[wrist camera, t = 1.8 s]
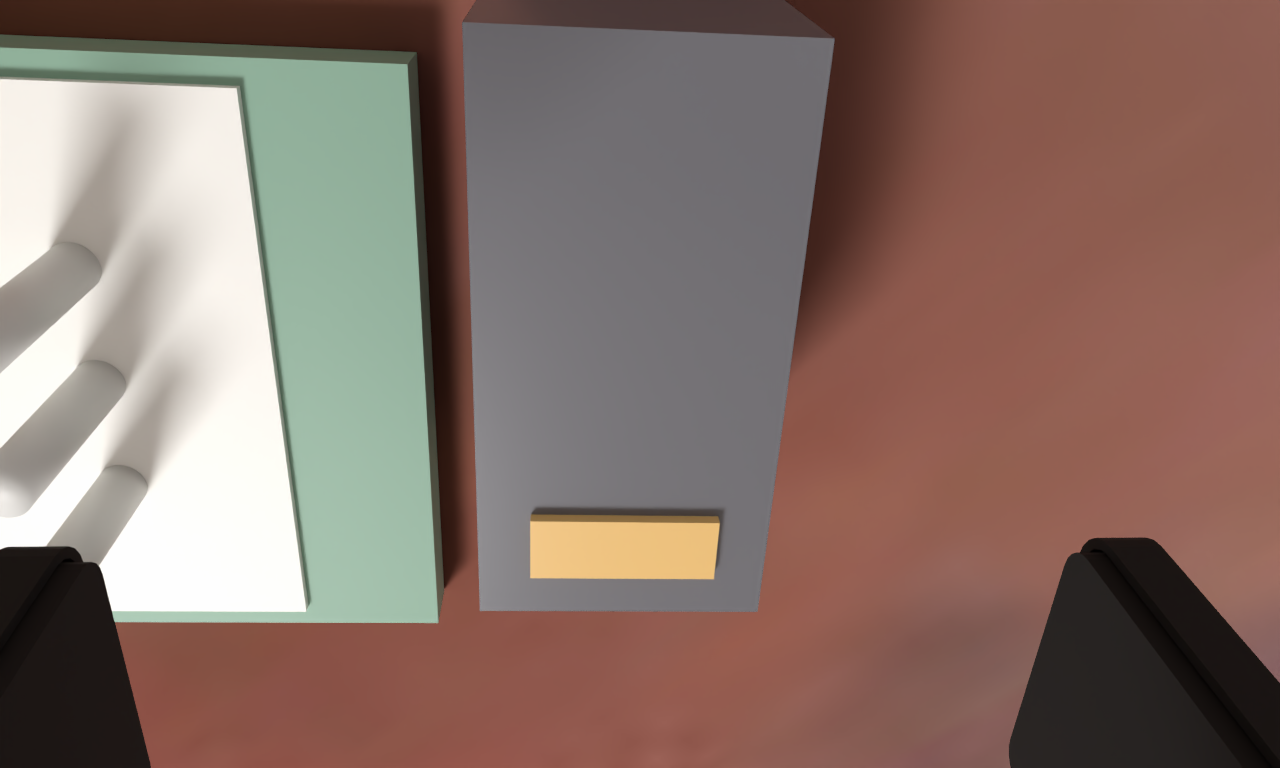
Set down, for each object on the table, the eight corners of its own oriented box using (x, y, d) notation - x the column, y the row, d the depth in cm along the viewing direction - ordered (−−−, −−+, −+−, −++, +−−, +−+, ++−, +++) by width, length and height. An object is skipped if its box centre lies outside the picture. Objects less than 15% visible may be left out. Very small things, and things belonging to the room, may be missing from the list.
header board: (416, 51, 19) (363, 120, 14) (444, 590, 25) (413, 763, 21) (-312, 21, 18) (-624, 83, 14) (-102, 587, 24) (-266, 767, 20)
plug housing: (763, -17, 19) (838, 40, 14) (717, 440, 24) (759, 618, 18) (495, -29, 19) (461, 24, 13) (502, 436, 23) (479, 617, 18)
